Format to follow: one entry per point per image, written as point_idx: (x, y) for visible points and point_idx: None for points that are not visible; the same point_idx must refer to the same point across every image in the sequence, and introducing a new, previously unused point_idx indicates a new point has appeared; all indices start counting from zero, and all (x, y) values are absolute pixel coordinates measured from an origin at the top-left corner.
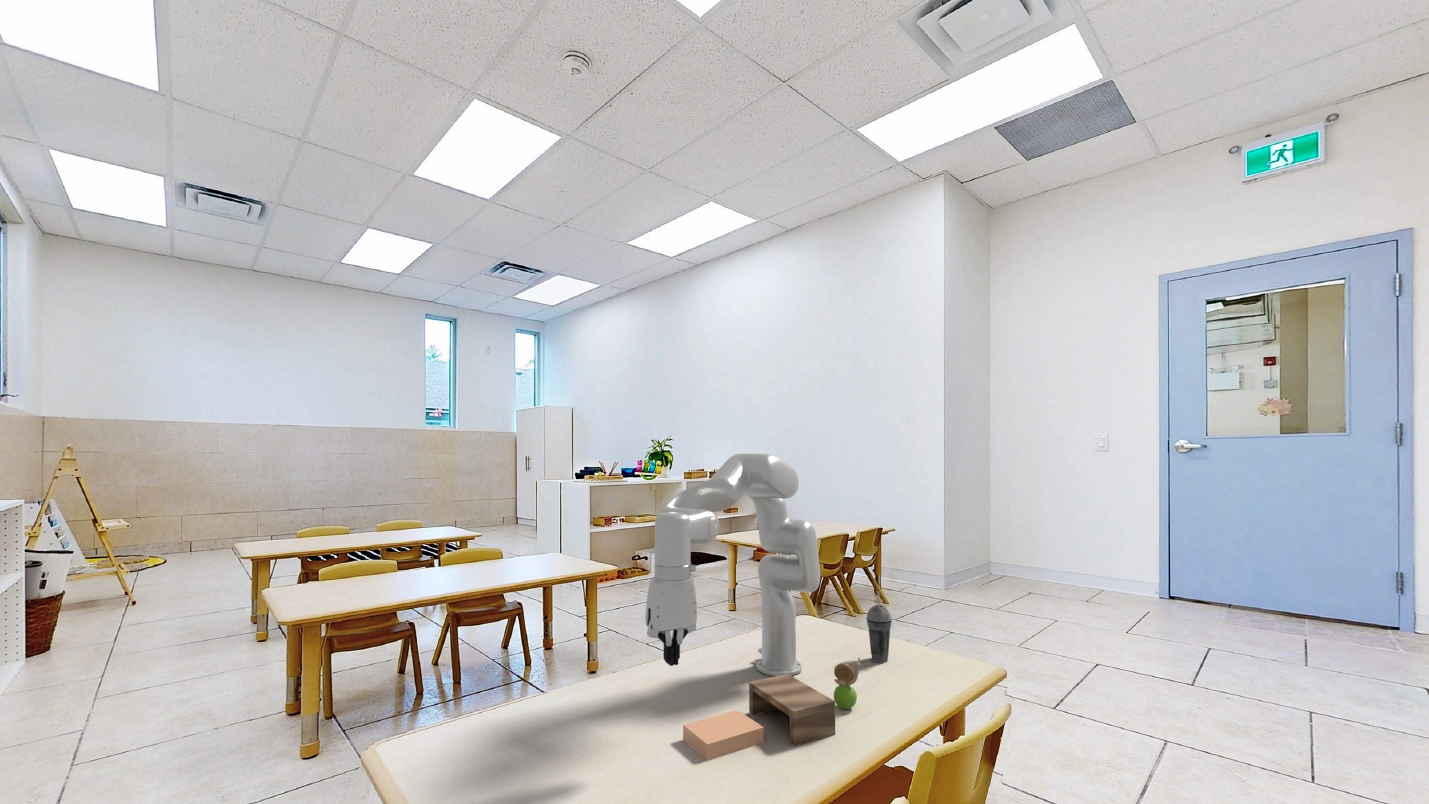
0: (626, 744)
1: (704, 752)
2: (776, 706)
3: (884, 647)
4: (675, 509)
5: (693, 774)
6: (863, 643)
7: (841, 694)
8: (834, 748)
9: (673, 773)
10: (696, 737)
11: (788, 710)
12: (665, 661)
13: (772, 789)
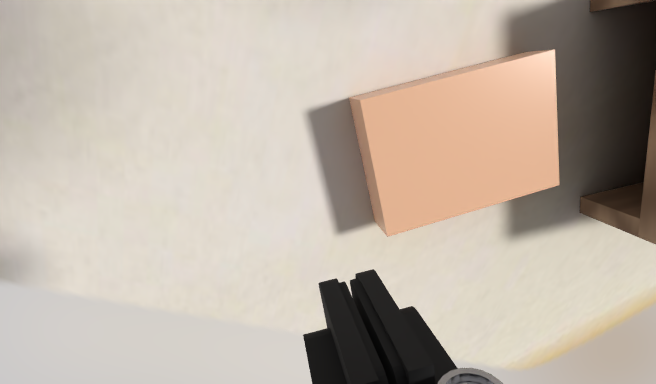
0: (173, 70)
1: (376, 213)
2: (648, 154)
3: None
4: None
5: (324, 271)
6: None
7: None
8: (641, 242)
9: (280, 257)
10: (374, 180)
11: (654, 217)
12: (319, 287)
13: (452, 350)
